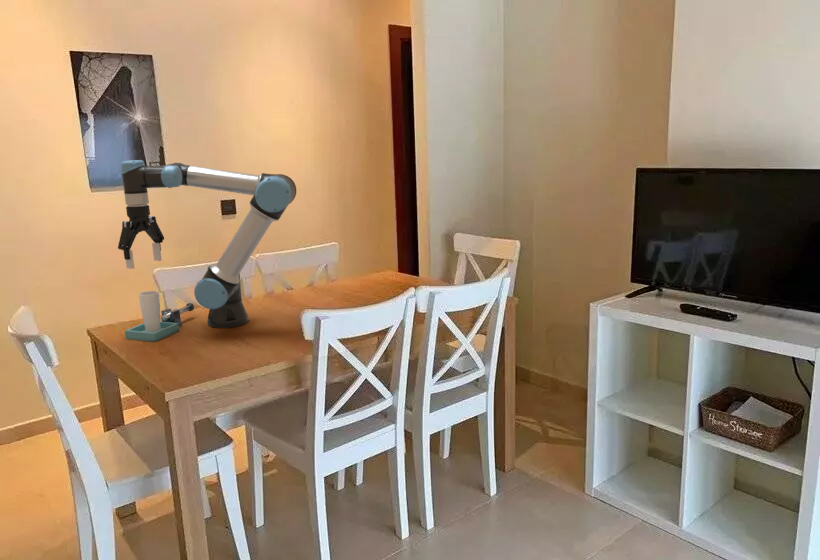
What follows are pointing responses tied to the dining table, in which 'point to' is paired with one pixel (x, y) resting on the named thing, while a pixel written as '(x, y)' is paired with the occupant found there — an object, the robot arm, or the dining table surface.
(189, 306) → the lock pin
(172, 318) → the pin mount
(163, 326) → the teal square tray
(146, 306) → the drinking glass
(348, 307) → the dining table surface
